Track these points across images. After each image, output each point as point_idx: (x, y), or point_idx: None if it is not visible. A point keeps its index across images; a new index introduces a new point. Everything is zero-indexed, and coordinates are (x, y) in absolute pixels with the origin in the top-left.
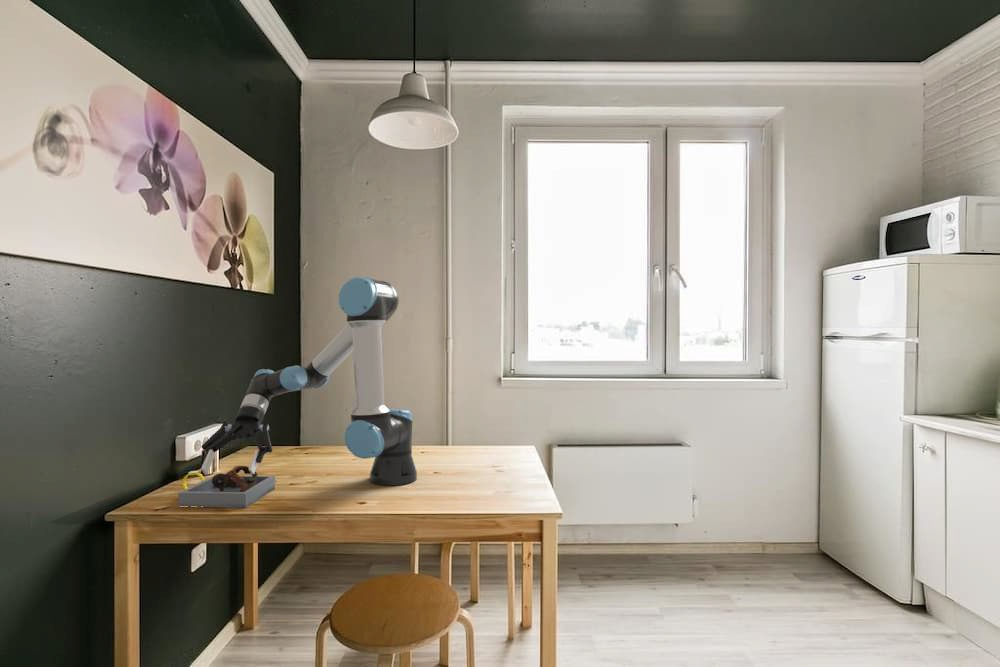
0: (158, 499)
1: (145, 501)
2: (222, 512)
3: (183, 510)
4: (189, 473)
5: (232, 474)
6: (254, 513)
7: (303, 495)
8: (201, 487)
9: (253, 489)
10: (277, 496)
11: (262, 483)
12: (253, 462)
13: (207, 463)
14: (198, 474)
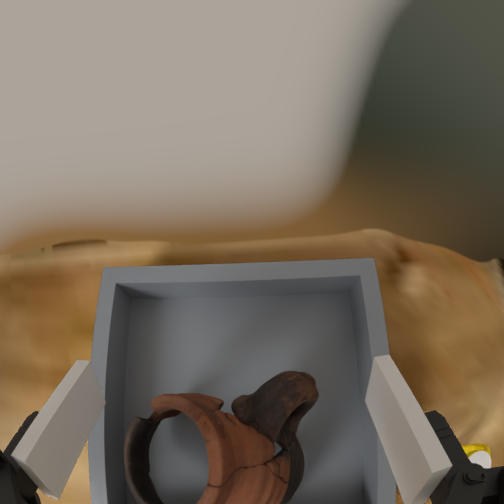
0: (475, 349)
1: (490, 323)
2: (180, 248)
3: (320, 256)
4: (480, 450)
5: (210, 411)
6: (90, 247)
7: (12, 414)
8: None
9: (95, 330)
10: None
11: None
12: (57, 388)
13: (388, 403)
14: None
